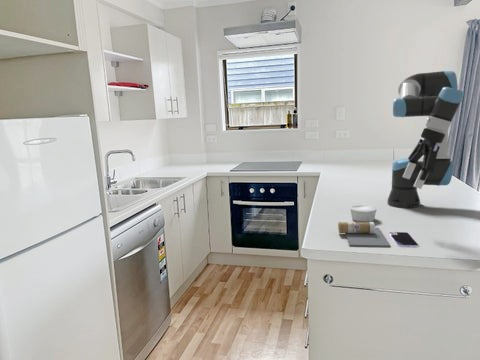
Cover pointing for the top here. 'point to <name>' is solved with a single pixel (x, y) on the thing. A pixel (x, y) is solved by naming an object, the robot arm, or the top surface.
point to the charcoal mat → (368, 239)
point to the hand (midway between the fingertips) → (411, 182)
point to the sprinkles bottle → (356, 227)
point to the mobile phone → (403, 239)
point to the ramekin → (363, 213)
